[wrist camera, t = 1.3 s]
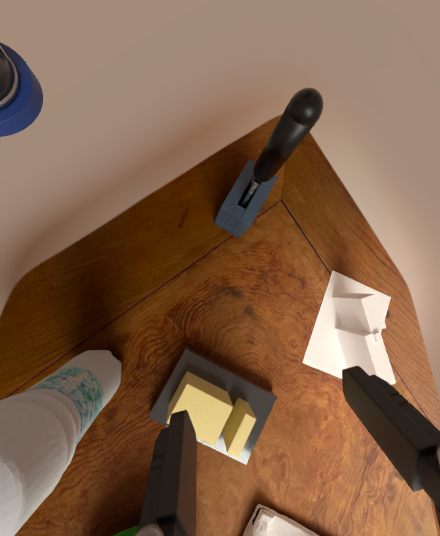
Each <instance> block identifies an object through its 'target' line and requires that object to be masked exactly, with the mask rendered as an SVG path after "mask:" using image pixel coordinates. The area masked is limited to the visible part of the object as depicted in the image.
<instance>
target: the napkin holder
mask: <svg viewBox="0 0 440 536" xmlns="http://www.w3.org/2000/svg"><path fill="white" fill-rule="evenodd" d="M390 299H391V297H389V296H387V295H385V294H383V293H381V292H378V291H376V290H374V289H372V288H370V287H368V286H365V285H363V284H361V283H359V282H357V281H355V280H353V279H350V278H348V277H346V276H344V275H342V274H340V273H338V272H335V271H332V274H331V277H330V280H329V283H328V286H327V289H326V292H325V295H324V298H323V301H322V304H321V307H320V311H319V314H318V317H317V320H316V323H315V326H314V329H313V332H312V335H311V338H310V341H309V344H308V347H307V350H306V353H305V356H304V359H303V362H302V363H304V364H306V365H309V366H311V367H314V368H316V369H319V370H321V371H324V372H326V373H329V374H331V375H334V376H336V377H339V378H341V379H342V370H343V369H346V368H350V367H354V366H359V367H361V368H362V369H363V370H364V371H365V372H366V373H367V374H368V375H369V376H371V375H374V374H375V375H376V376H378V377H380V378H381V379H383V380H385V381H387V382H388V383H389V384H390V385H392V384H394V383H396V381H395V378H394V374H393V371H392V368H391V365H390V362H389V359H388V356H387V353H386V350H385V347H384V344H383V339H382V336H381V332H382V329H384V328H386V325H385V322H384V321H385V317H386V314H387V310H388V306H389V303H390Z"/></svg>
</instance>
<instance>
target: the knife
mask: <svg viewBox="0 0 440 536" xmlns="http://www.w3.org/2000/svg"><path fill="white" fill-rule="evenodd" d="M322 110H323V99H322V96H321V94H320V93H319V92H318V91H317V90H316V89H313V88H306V89H302V90H300V91H298V92H297V93H296V94H295V95H294V96H293V97H292V99H291V100H290V102H289V104H288V106H287V108H286V109H285V111H284V113H283V115H282V116H281V118H280V120H279V122H278V124H277V125H276V127H275V129H274V131H273V133H272V134H271V136H270V138H269V140H268V142H267V143H266V145H265V147H264V149H263V151H262V152H261V154H260V156H259V158H258V160H257V161H256V163H255V165H254V168H253V173H254V176H255V177H254V178H253V180H252V182H251V184H250V185H251V187H250V188H249V190H248V192H247V193H246V195H245V196H244V198H243V199H242V201H241V203H240V206H241V207H243V206H244V205H245V203H246V202H247V201H248V199H249V198H250V196H251V195H252V193H253V192H254V190H255V188H256V189H259V187H260V186H261V184H262V182H267V181H269V180H271V179H272V178H273V177H274V175H275V174H276V173H277V172H278V170H279V169H280V168H281V167H282V165H283V164H284V163H285V161H286V160H287V159H288V158H289V156H290V155H291V154H292V153H293V151H294V150H295V149H296V147H297V146H298V145H299V144H300V142H301V141H302V140H303V139H304V137H305V136H306V135H307V134H308V132H309V131H310V130H311V128H312V127H313V126H314V125H315V123H316V122H317V121H318V119H319V118H320V115H321V113H322Z"/></svg>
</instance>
